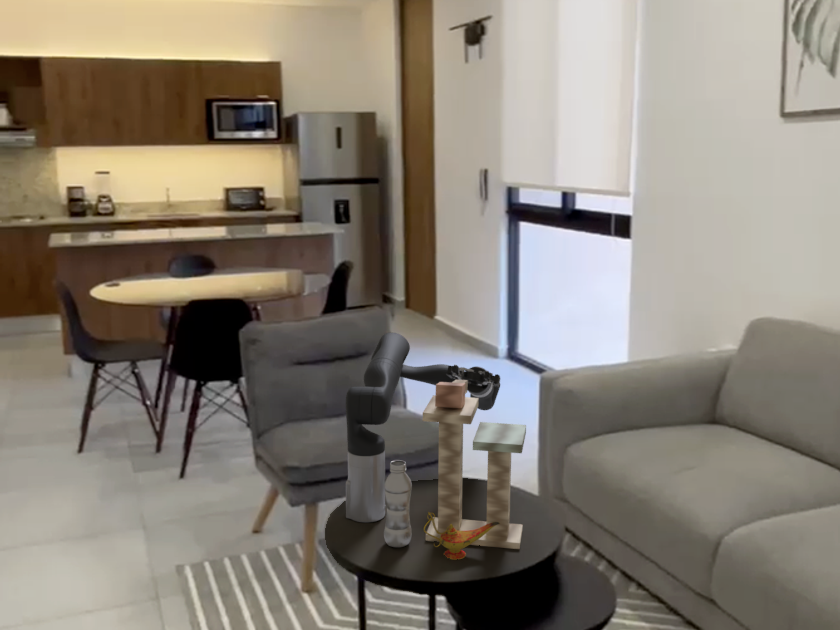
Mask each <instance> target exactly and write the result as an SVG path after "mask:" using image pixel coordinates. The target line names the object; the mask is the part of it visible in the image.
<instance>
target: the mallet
mask: <svg viewBox="0 0 840 630" xmlns="http://www.w3.org/2000/svg"><path fill="white" fill-rule="evenodd" d="M467 387H468V380H455V381H453V382H439V383H438V384H436V386H435V395H436V396H435V406H436V407H452V408H462V407H463V406H464V405H465V397H466V394H467V393H468V390H467Z"/></svg>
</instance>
